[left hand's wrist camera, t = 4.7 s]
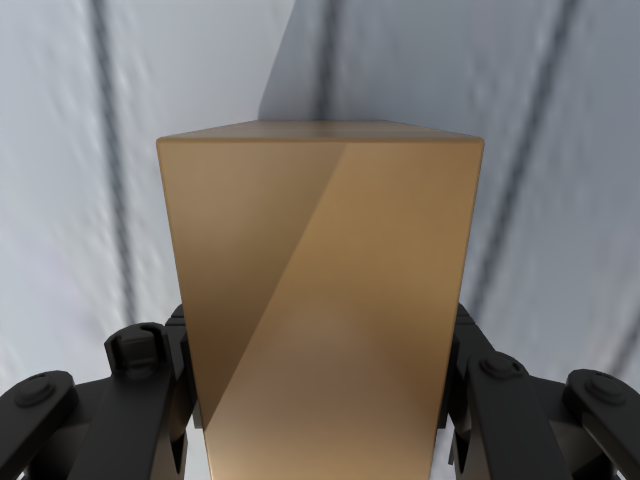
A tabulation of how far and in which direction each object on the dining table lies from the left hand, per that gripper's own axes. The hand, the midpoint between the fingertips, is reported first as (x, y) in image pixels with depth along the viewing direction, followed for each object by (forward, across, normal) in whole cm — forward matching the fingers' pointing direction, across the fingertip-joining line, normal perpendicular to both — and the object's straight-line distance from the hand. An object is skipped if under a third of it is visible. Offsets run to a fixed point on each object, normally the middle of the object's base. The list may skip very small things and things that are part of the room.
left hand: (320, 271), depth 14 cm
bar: (+1, 0, -33) cm, 33 cm away
